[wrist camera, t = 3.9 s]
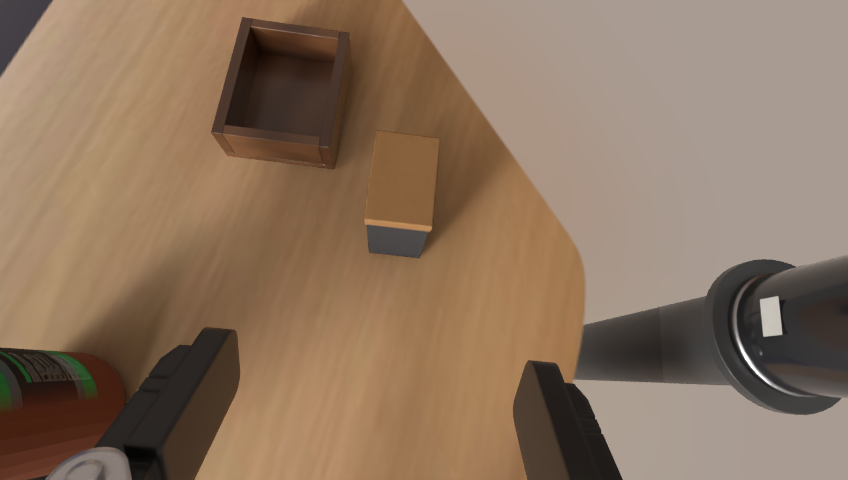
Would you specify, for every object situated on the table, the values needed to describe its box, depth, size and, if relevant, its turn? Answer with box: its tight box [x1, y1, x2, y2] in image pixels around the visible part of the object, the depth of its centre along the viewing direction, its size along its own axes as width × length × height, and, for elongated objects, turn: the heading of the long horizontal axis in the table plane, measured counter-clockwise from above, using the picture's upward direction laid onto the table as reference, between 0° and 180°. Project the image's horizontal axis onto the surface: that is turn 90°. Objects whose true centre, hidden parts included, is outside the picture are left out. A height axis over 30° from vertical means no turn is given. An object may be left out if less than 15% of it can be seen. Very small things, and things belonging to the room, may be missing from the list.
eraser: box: [364, 130, 440, 258], centre depth 31 cm, size 4×6×8 cm
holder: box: [211, 17, 352, 169], centre depth 35 cm, size 9×11×4 cm
